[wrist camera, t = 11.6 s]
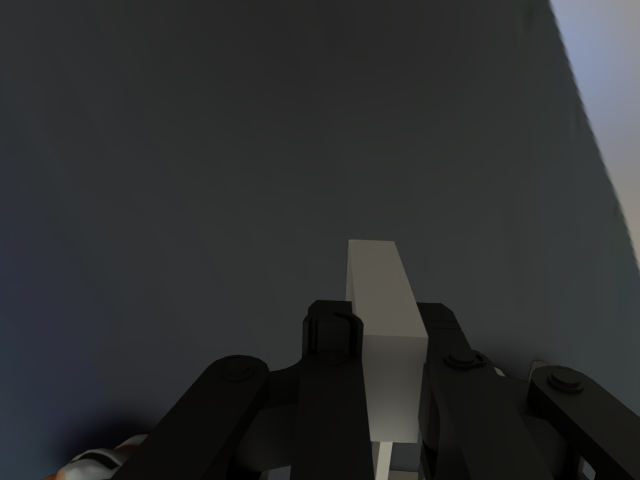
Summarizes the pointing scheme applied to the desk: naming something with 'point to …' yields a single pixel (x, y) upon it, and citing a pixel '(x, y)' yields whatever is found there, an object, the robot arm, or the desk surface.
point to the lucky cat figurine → (98, 462)
